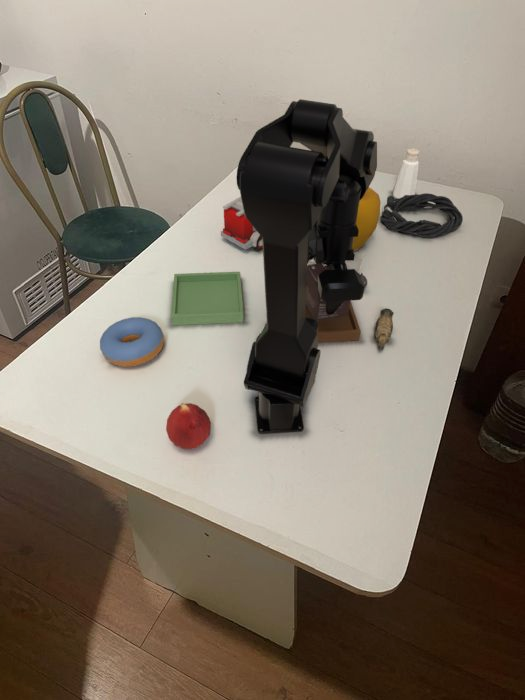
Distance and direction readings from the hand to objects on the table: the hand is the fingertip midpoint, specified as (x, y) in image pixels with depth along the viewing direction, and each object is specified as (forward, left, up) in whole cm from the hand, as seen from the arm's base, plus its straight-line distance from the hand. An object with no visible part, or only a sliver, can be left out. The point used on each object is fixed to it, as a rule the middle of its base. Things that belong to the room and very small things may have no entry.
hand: (326, 301), depth 86 cm
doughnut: (-5, +32, -5) cm, 33 cm away
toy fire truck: (+30, +8, -5) cm, 32 cm away
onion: (-24, +22, -5) cm, 33 cm away
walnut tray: (0, 0, -5) cm, 5 cm away
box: (0, 0, -2) cm, 2 cm away
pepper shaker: (+45, -27, -5) cm, 53 cm away
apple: (+24, -9, -5) cm, 26 cm away
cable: (+32, -27, -5) cm, 42 cm away
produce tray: (+7, +20, -5) cm, 22 cm away
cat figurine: (-5, -9, -5) cm, 11 cm away
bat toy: (+9, -8, -5) cm, 13 cm away
